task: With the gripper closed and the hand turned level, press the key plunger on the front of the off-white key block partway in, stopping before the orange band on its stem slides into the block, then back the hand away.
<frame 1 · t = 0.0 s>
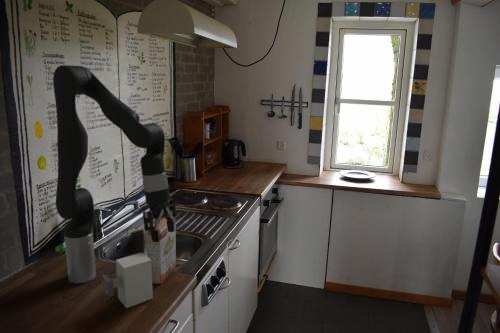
hand: (164, 236, 122), 22 cm above the countertop, tool pointing down, fingers open, 8 cm apart
cracker box: (162, 275, 143), on the countertop
key plunger: (117, 282, 122), point 8 cm above the countertop, slide at 0.0 cm
key block: (135, 298, 127), on the countertop
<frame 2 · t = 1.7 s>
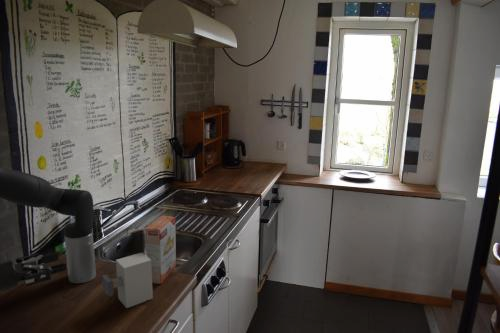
hand: (61, 261, 109), 20 cm above the countertop, tool horizontal, fingers open, 7 cm apart
nothing on the countertop moved.
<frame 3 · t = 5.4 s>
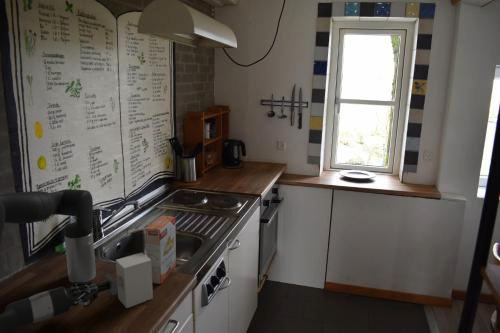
hand: (109, 284, 120), 8 cm above the countertop, tool horizontal, fingers closed
key plunger: (120, 281, 123), point 8 cm above the countertop, slide at 1.2 cm, touching gripper
everything else where it was.
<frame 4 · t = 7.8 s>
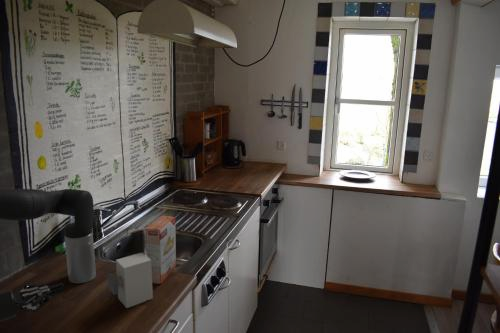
hand: (63, 286, 112), 12 cm above the countertop, tool horizontal, fingers closed
key plunger: (122, 280, 123), point 8 cm above the countertop, slide at 1.6 cm
everything else where it was.
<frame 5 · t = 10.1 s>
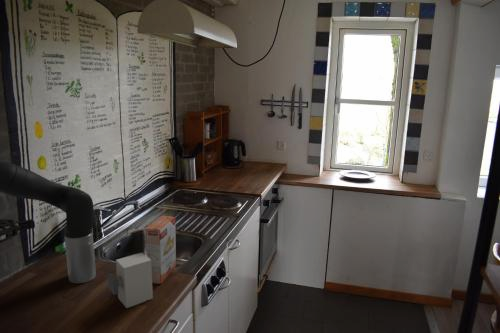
hand: (34, 223, 106), 32 cm above the countertop, tool horizontal, fingers closed
nothing on the countertop moved.
at the end: key plunger slide at 1.6 cm; cracker box moved 0.2 cm from its start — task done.
